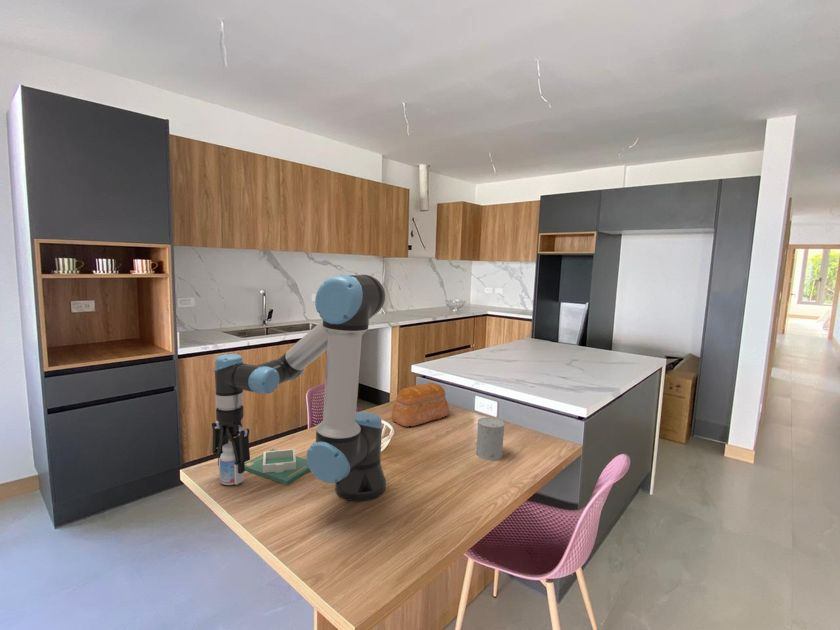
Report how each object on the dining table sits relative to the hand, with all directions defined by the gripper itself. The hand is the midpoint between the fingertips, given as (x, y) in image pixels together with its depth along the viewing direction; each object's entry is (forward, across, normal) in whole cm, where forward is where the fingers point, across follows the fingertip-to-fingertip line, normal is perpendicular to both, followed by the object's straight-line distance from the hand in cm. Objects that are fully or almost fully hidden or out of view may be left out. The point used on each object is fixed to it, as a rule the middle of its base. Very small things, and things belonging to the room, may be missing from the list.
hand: (231, 479), depth 129 cm
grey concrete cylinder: (+2, -63, -60) cm, 87 cm away
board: (+1, -6, -14) cm, 15 cm away
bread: (+1, -25, -79) cm, 83 cm away
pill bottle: (+1, 0, 0) cm, 1 cm away
